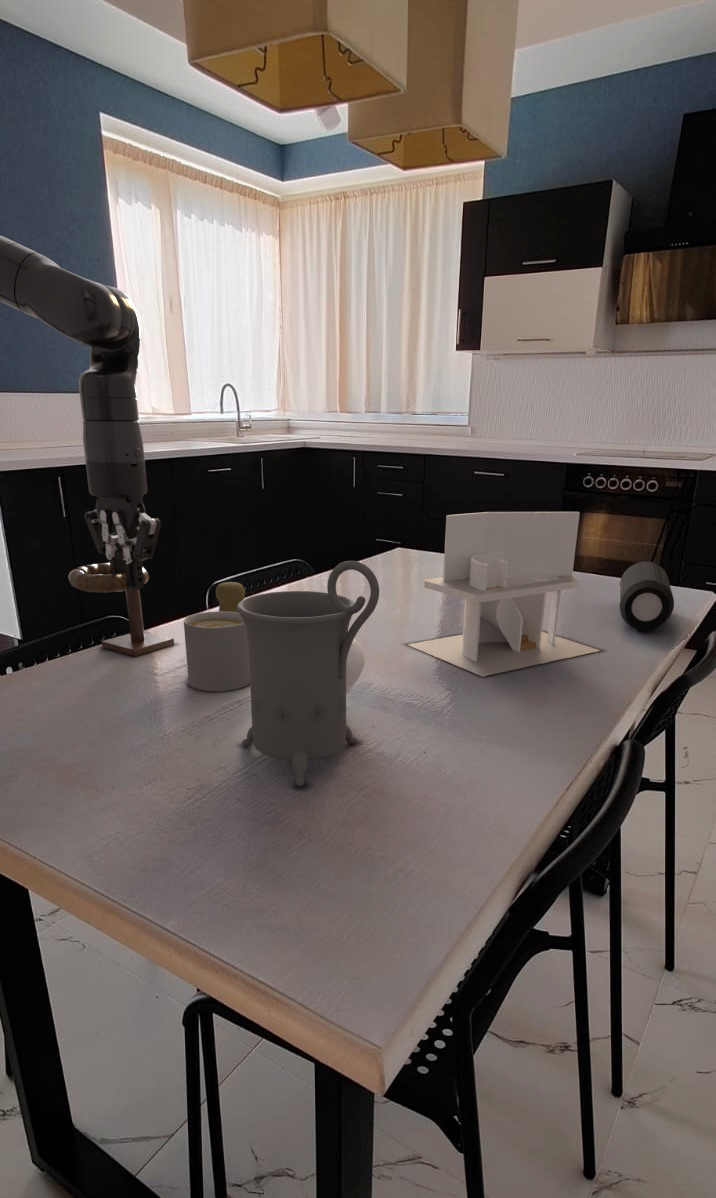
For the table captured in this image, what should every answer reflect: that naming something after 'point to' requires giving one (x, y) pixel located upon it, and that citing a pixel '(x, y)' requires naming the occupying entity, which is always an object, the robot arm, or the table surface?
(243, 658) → the coffee mug
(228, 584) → the cork
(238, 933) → the table surface
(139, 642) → the post
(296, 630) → the mug
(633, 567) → the portable speaker
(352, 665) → the spinning top
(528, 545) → the architectural model
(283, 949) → the table surface
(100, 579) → the ring
